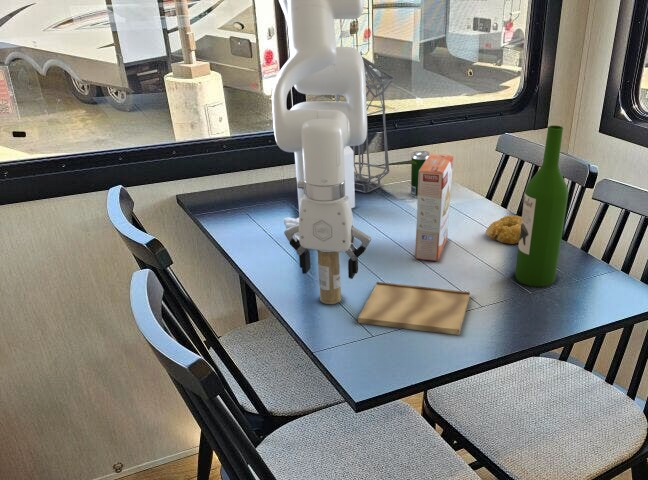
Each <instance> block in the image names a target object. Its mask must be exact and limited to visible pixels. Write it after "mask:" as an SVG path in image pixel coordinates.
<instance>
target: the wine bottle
mask: <svg viewBox="0 0 648 480" xmlns="http://www.w3.org/2000/svg"><path fill="white" fill-rule="evenodd" d="M563 131H564V127H563V126H561V125H548V127H547V132H546V138H545V139H546V140H545V146H544V152H543V160H542V165H541V167H539V169H538V170H537V172H536V173H535V174H534V175H533V177H532V178H531V179H530V180H529V182H528V183H527V185H526V188H525V191H524V197H523V205H522V214H521V217H522V220H521V229H520V237H519V243H518V247H517V255H516V265H515V270H514V271H515V272H514V275H515V279H516V281H517V282H519V283H520V284H522V285H525V286H528V287H533V288H534V287H535V288H542V287H548V286H551V285H552V284H553V283H554V282H555V280H556V276H557V270H558V264H559V257H560V252H561V251H560V250H561V244H562V237H563V233H564V231H563V230H564V225H565V219H566V213H567V206H568V199H569V188H568V184H567V183H566V180H565V179H564V176H563V173H562V172H561V169H560V167H559V164H560V156H561V155H560V154H561V148H562V139H563Z"/></svg>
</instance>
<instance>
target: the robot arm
mask: <svg viewBox="0 0 648 480" xmlns="http://www.w3.org/2000/svg"><path fill="white" fill-rule="evenodd" d="M278 2H279V5H280V8H281V10H282V13H283V14H284V19H285V21H286V25H287V33H288V35H287V36H288V46H289V48H288V49H289V58H288V59H287V60H286V61H285V63H284V64H283V66H282V67H281V68H280V70H279V71H278V74H277V76H276V78H275V79H274V83H273V86H272V92H271V111H272V124H273V125H272V126H273V135H274V140H275V143H276V145H277V146H278V148H279V149H280V150H282V151H283V152H287V153H294V164H295V175H296V186H297V187H296V188H297V201H298V213H299V214H298V217H296V218H293V217H284V219H283V224H284V226H285V230H284V232H283V234H284V236H285V238H286V239H287V240H288V242H289V245H290V246H291V247H292V248H293V249H294V250H295V252H296V254H297V255H298V259H299V267H300V269H301V272H302V275H303V274H304V275H305V274H307V273H308V272H309V270H310V269H311V253H310V250H314V251H317V250H322V251H332V252H339V253H345V254H346V255H347V256H348V258H349V259H348V260H347V270H348V272H347V273H348V274H347V275H348V279H349V280H353V278H354V277H355V275H356V274H358V273H359V258H360V257H361V255H363V254H364V253H365V252H366V250H367V248H368V246H369V245H370V242H371V241H372V238H371V236H369V235H368V234H366V233H365V232H363V231H361V230H360V229H358V228H357V227H355V224H354V217H353V216H354V215H353V210H352V208H351V205H350V201H349V197H348V196H347V195H345V169H344V148H345V147H346V146H350V147H353V146H355V147H358V145H360V146H361V144H363V145H364V143H366V136H368V116H367V114H368V110H367V107H368V106H366V104H367V97H366V93H367V87H366V85H367V84H366V83H365V80H366V76H365V68H364V62H363V59H362V57H363V55H362V54H361V51H359V50H358V49H356V48H354V47H350V46H337V42H336V41H337V39H336V30H335V29H336V27H335V20H357V19H359V18H360V17H361V16H362V15H363V12H364V9H365V0H278ZM293 87H294V89H295V90H296V91H297V92H298V93H299V94H303V95H312V96H325V95H326V96H329V95H330V96H332V95H335V96H337V95H343V96H344V97H343V98H345V100H346V101H345V100H343V101H340V100H339V101H336V100H335V101H328V100H325V101H324V100H322V101H320V100H319V101H318V100H317V101H316V100H315V101H314V100H313V101H312V100H311V101H303V102H299V103H296V104H294V105H293V106H292V107H291V108H290V109H288V108H287V98H288V95H289V92H290V91H291V90H292V88H293ZM355 239H357V240H358V241H360V242H361V244H360V246H358V247H357V246H356V245H355V244H354V242H355Z"/></svg>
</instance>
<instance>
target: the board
mask: <svg viewBox="0 0 648 480" xmlns="http://www.w3.org/2000/svg"><path fill="white" fill-rule="evenodd" d="M470 298H471V292H470V291H465V290H454V289H448V288H447V289H445V288H439V287H427V286H418V285H411V284H409V285H408V284H401V283H400V284H399V283H392V282H382V281H376V283H375V286H374V287H373V289H372V291H371V293H370V295H369V297H368V298H367V301H365V303H364V306H363V307H362V310H361V311H360V313H359V315H358V317H357V324H364V325H372V326H380V327H387V328H389V327H390V328H397V329H406V330H414V331H422V332H429V333H438V334H439V333H440V334H447V335H448V334H449V335H457V336H460V333H461V329H462V326H463V322H464V319H465V316H466V313H467V309H468V305H469V302H470Z"/></svg>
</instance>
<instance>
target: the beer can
mask: <svg viewBox="0 0 648 480" xmlns="http://www.w3.org/2000/svg"><path fill="white" fill-rule="evenodd" d="M430 154H431V153H430V151H426V150H414V151H413V152H412V155H411V167H410V171H411V172H410V195H411V197H412V198H415V199H418V176H419V170H420V168H421V167H422V165H423V164H424V162H425V161H426V159H427V158H428V156H429V155H430Z"/></svg>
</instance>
